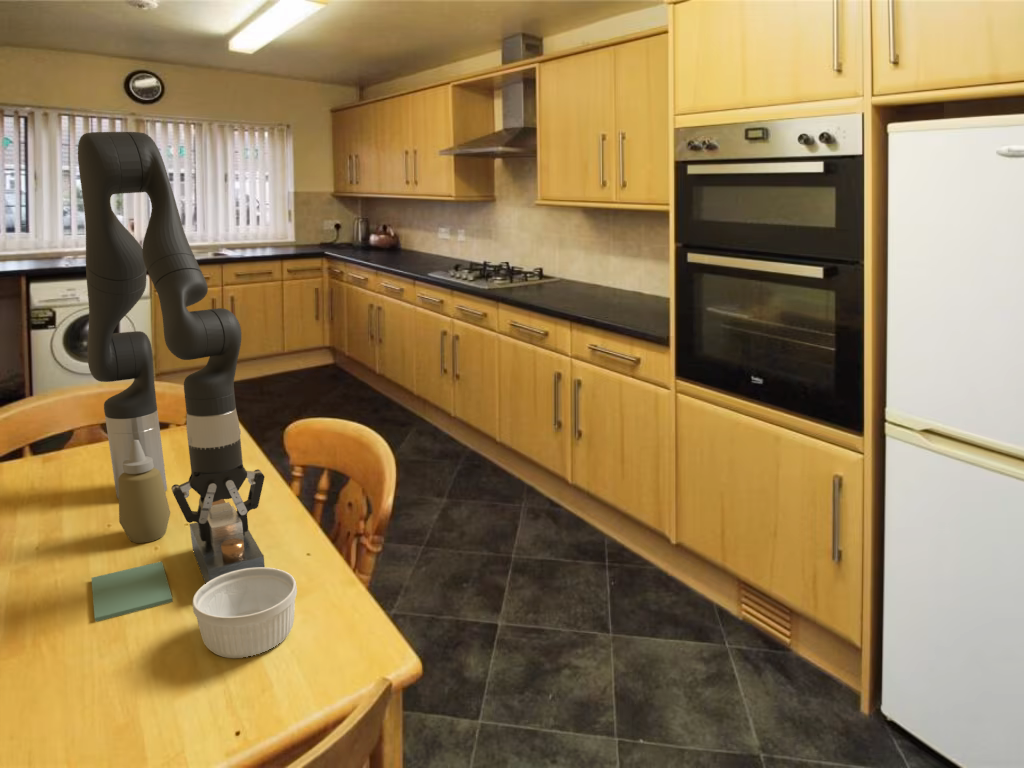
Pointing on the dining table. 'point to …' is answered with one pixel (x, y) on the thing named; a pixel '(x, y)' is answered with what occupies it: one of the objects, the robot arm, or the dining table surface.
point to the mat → (130, 591)
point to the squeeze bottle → (142, 498)
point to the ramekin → (246, 611)
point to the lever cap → (224, 525)
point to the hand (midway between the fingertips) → (224, 537)
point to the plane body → (225, 553)
